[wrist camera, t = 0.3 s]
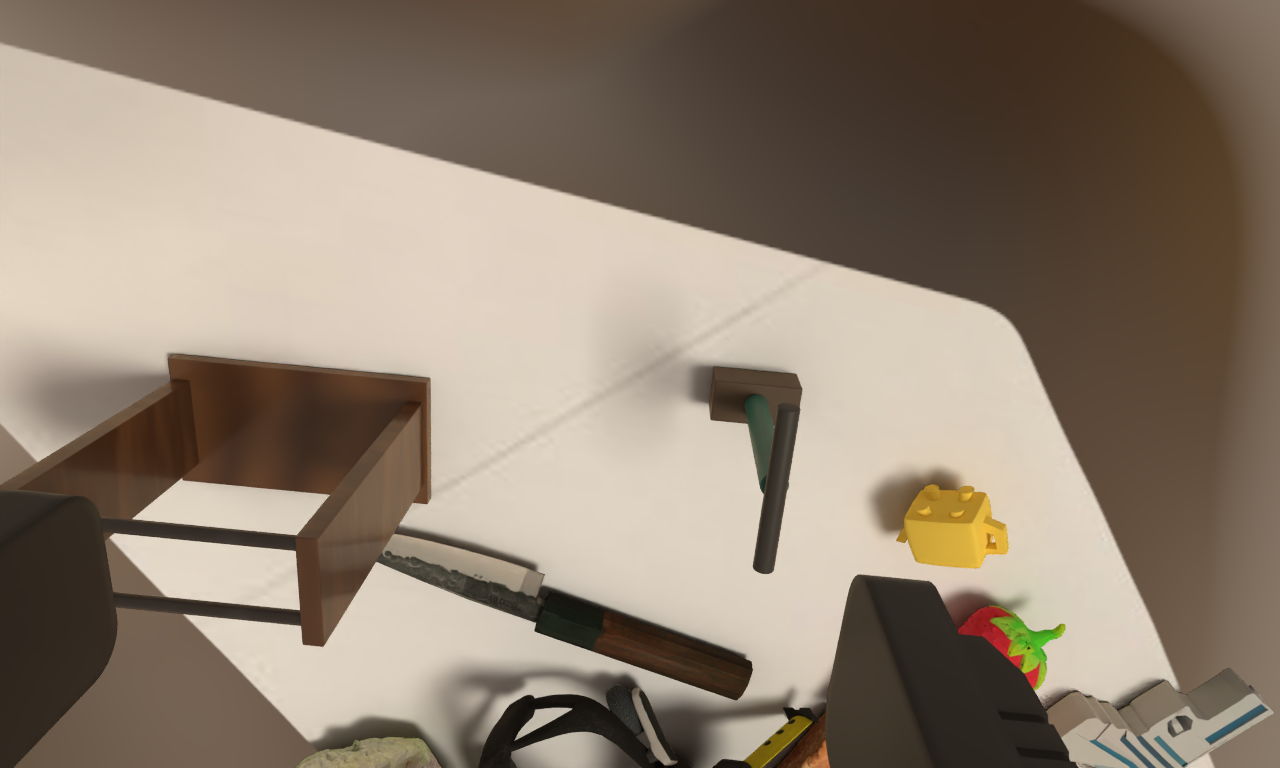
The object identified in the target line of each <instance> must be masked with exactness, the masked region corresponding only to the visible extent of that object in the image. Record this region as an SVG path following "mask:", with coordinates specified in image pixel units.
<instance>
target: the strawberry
mask: <svg viewBox="0 0 1280 768" xmlns="http://www.w3.org/2000/svg"><path fill="white" fill-rule="evenodd" d="M1064 631H1065V624H1060V625H1059V626H1057V627H1056V628H1055V629H1053V630H1043V631H1039V632H1034V631H1032V630H1029V629H1028V628H1027V627H1026V625H1025V624H1024V623H1023V621H1022V620H1021V619H1020V618H1019V617H1018V616H1017V615H1016V614H1015V613H1012V612H1010V611H1008V610H1006V609H1003V608H1001V607H999V606H987V607H985V608H982V609H977V612H976V613H974V614H973V615H971V616H970V617H969V619H968V621H964V625H963V626H961V628H958V633H959V634H964V635H974V636H983V637H985V638H986V639H987V640H988V641H989V642H990V643H991V644H992V645H993V646H995V647H996V648H997V649H998V650H999V651H1000V652H1001V653H1002V654H1003V655H1004V656H1006V657H1007V658H1008V659H1009V660H1010V661H1011V662H1012V663H1013V664H1014V665H1015V666H1017V667H1018V668H1019V669H1020V670H1021V671H1022V672H1023V673H1024V674H1025V676H1026V677H1027V679H1028V681H1029V683H1030V684H1031V686H1032V688H1033V690H1037V689H1038V688H1039V687H1040V686H1041V684H1042V683H1043V681H1044V679H1045V676H1046V671H1047V666H1046V660H1047V657H1046V654H1045V652H1044V651H1043V649H1042V648H1040V647H1042V646H1043V645H1045V644H1046V643H1047V642H1048V641H1050V640H1053V639H1057V638H1059V637H1060V636H1062V634H1063V633H1064Z"/></svg>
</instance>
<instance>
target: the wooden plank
mask: <svg viewBox="0 0 1280 768" xmlns="http://www.w3.org/2000/svg"><path fill="white" fill-rule="evenodd" d="M825 717H826V712H825V713H824V714H823V715H822V716H821V717H820V718H819V719H818V721H819V723H815V724H814V725H813V726H812V727H811V729H810V730H809V732H808V733H807V734H805V735H804V736H803V738H802V739H801V740H800V741H799V743H798V744H797V745H796V747H795V748H794V749H793V750H792V751H791V753H790V754H789V755H788V756H787V757H786V758H785V759H784V761H783V762H782V763H781V764H780V765H779V766H778V768H830V765H829V760H828V755H827V747H826V733H825Z"/></svg>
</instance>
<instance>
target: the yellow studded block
mask: <svg viewBox="0 0 1280 768" xmlns="http://www.w3.org/2000/svg"><path fill="white" fill-rule="evenodd" d="M973 491H974V487H972V486H964V487H961V488H960V489H959V491H957V490H939V487H938V486H937V485H928V486H926V487H924V490H921V491H920V492H919V494H918V495H917V497H916V498H915V500H914V501H913V503H912V505H911V506H910V508H909V510H908V512H907V514H906V516H905V518H904V528H903V529H902V531H901V533H900V534H899V536H898V538H897V539H896V541H898V542H902V543H905V542H906V540H907V539H908V542H909V545H910V548H911V551H912V553H913V556H914V558H915V561H916V562H918V563H923V564H930V565H939V566H948V567H960V568H980V567H981V565H982V563H983V561H984V558H985V556H986V554H1007V551H1008V549H1009V545H1008V537H1007V529H1006V524H1003V523H1001V522H999V521H996V520H994V519H992V513H991V506H990V502H989V499H988V496H987V494H986V493H982V492H973ZM993 535H994V539H995V543H992V539H993Z"/></svg>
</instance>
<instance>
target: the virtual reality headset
mask: <svg viewBox="0 0 1280 768" xmlns="http://www.w3.org/2000/svg"><path fill="white" fill-rule="evenodd" d="M606 699H607V703H608V706H609V709H610V711H609V710H608V709H607V708H606V707H604V706H603V705H602V704H600V703H599V702H597V701H595V700H593V699H591V698H588V697H585V696H580V695H573V694H565V695H550V696H545V697H540V698H534V697H533V696H532V695H527V696H524V697H522V698H521V699H519V700H517V701H515V702H514V703H512V704H511V705H509V707H508V708H507V709H506V711H505V712H504V714H503V715H502V717H501V718H500V720H499V721H498V722H497V724H496V725H495V726H494V728H493V729H492V731H491V733H490V734H489V736H488V738H487V740H486V743H485V745H484V748H483V750H482V754H481V758H480V763H479V765H478V768H516V765H515V763H514V762H513V761H512V759H511V752H512V751H515V750H517V749H520V748H523V747H525V746H528V745H531V744H533V743H536V742H539V741H542V740H545V739H549V738H552V737H555V736H558V735H562V734H566V733H572V732H592V733H596V734H599V735H602V736H604V737H605V738H607V739H608V740H610V741H611V742H613V743H615V744H616V745H617V746H619V747H620V748H621V749H622V750H623V751H624V752H625V753H627V754H628V755H629V756H630V757H631V758H632V759H633V760H635V761H636V762H637V763H638V764H639V765H640V766H641V767H642V768H692V767H691V766H690V765H689V764H688V763H687V762H686V761H685V760H684V759H683V758H682V757H680V756H679V755H678V754H675V753H674V752H673V750H672V749H671V747H670V746H669V744H668V742H667V741H666V739H665V737H664V735H663V732H662V730H661V728H660V726H659V723H658V721H657V719H656V717H655V714H654V712H653V710H652V707H651V705H650V702H649V700H648V698H647V696H646V695H645V693H644V692H643V690H642V689H640V688H639V687H636V688H634V689H633V691H632V692H631V691H630V690H628V689H626V688H625V687H623V686H621V685H615V686H613V687H612V688H610V689H609V690H607V693H606ZM544 708H573V709H572V710H570V711H569V712H567V713H565V714H564V715H562V716H560V717H559V718H557V719H555V720H553V721H552V722H550V723H548V724H546V725H544V726H542V727H540V728H538V729H536V730H534V731H533V732H531V733H529V734H527V735H525V736H523V737H521V738H519V739H517V740H515V738H516V736H517V734H518V732H519V731H520V730H521V728H522V727H523V726H524V725H525V724H526V723H527V722H528V721H529V720H530V719H531V718H532V717H533V715H534V712H535V709H544ZM644 731H645V734H646V736H647V738H648V740H649V743H650V745H651V746H650V748H649V749H647V748H646V747H645V746H644V745H643V743H642V742H641V741H640V740H639V739H638V738H637V736H638V735H640V734H641V733H642V732H644ZM514 740H515V741H514Z"/></svg>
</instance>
